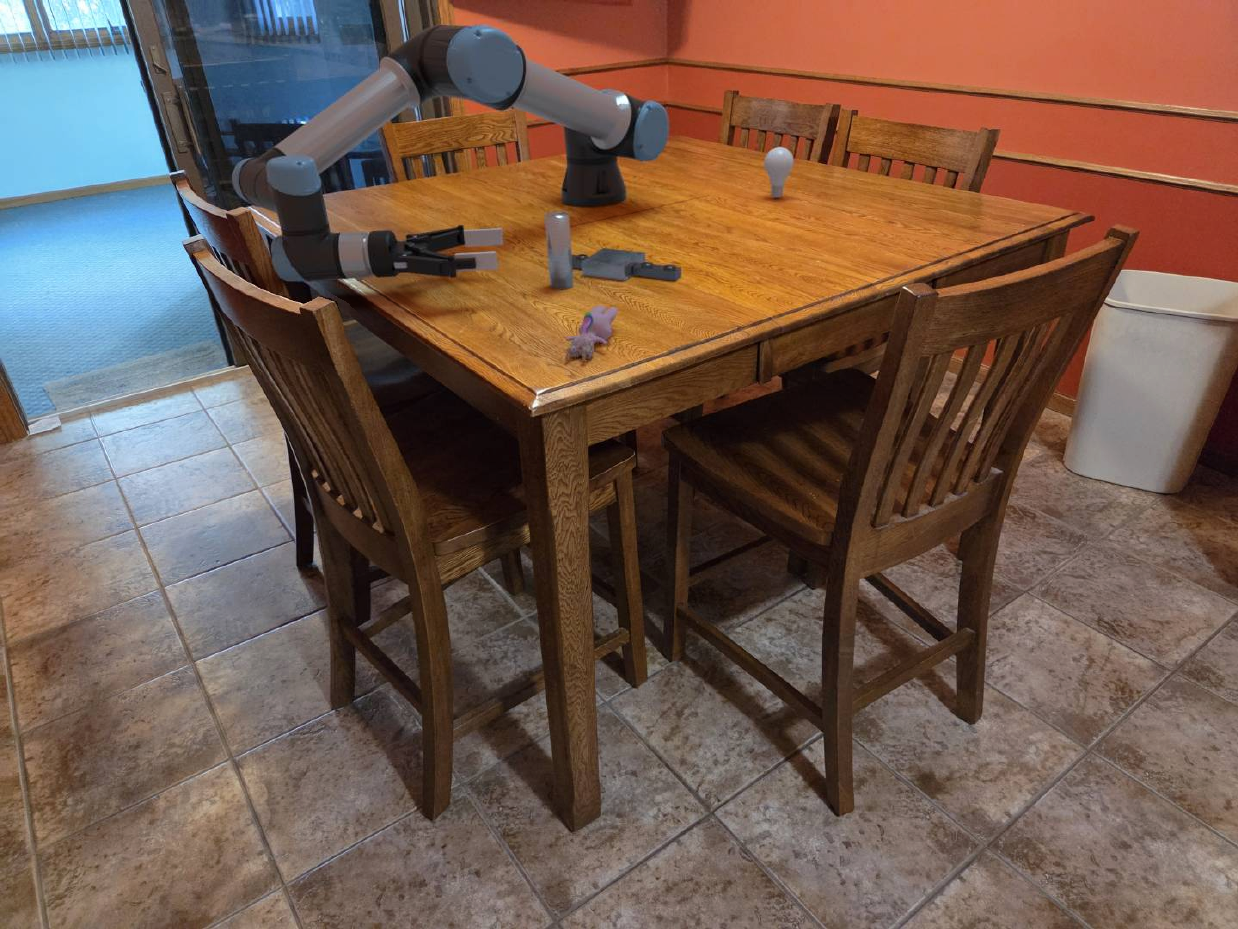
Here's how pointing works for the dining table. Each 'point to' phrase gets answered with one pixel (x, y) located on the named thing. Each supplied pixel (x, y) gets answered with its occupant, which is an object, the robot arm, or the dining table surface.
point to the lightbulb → (778, 169)
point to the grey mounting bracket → (622, 265)
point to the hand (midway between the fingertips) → (500, 247)
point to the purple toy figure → (591, 332)
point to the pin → (559, 250)
